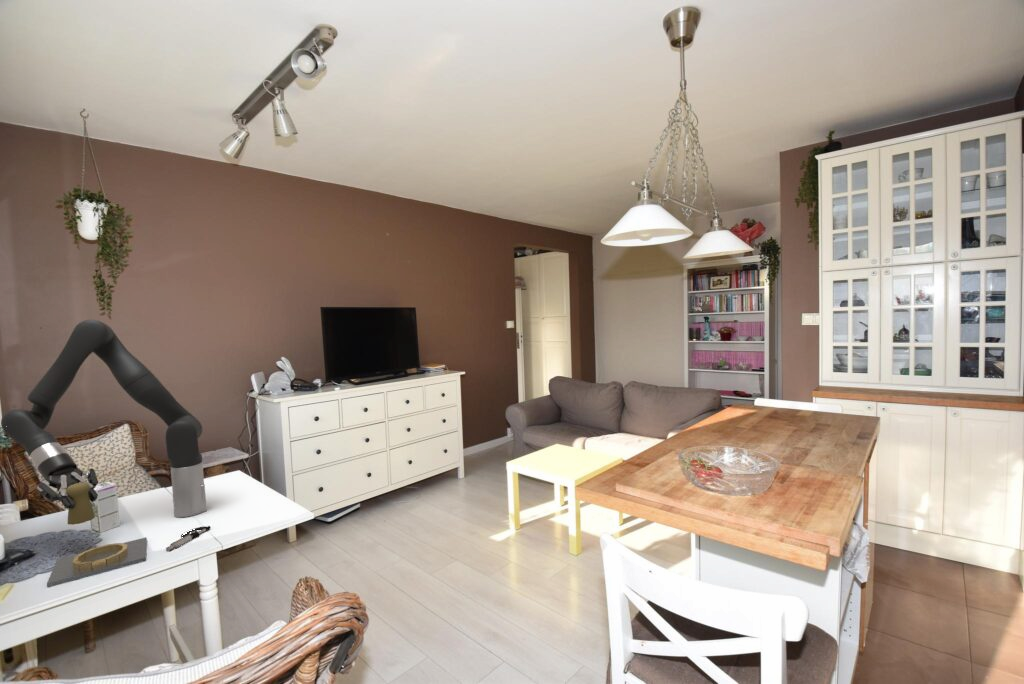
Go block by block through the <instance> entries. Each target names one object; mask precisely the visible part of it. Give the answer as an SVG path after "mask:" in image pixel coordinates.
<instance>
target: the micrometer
mask: <svg viewBox="0 0 1024 684" xmlns="http://www.w3.org/2000/svg"><path fill="white" fill-rule="evenodd" d="M193 529H195V530H193ZM210 529H211V526H210V525H208V526H199V527H195V528H192V529H191V530H192V531H189V530H188V531H189V532H187V531H186V532H187V534H185V535H183V533H181V534H180V538H179V539H178V540H175V541H174V542H172V543H170V545H169V546H167V547H165V551H166V552H171V550H173V549H174V548H175V549H178V548H180V547H182V546H184V545H186V544H187V543H189V542H191V541H192V540H195V539H196V537H197V538H198V537H200V534H203V533H204V532H207V531H209V530H210ZM196 530H201V531H196ZM190 532H191V533H190ZM182 535H183V536H182ZM182 537H183V538H182ZM194 538H195V539H194ZM190 540H191V541H190ZM188 541H189V542H188ZM185 543H186V544H185ZM181 545H182V546H181ZM179 546H180V547H179ZM175 549H174V550H175Z"/></svg>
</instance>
